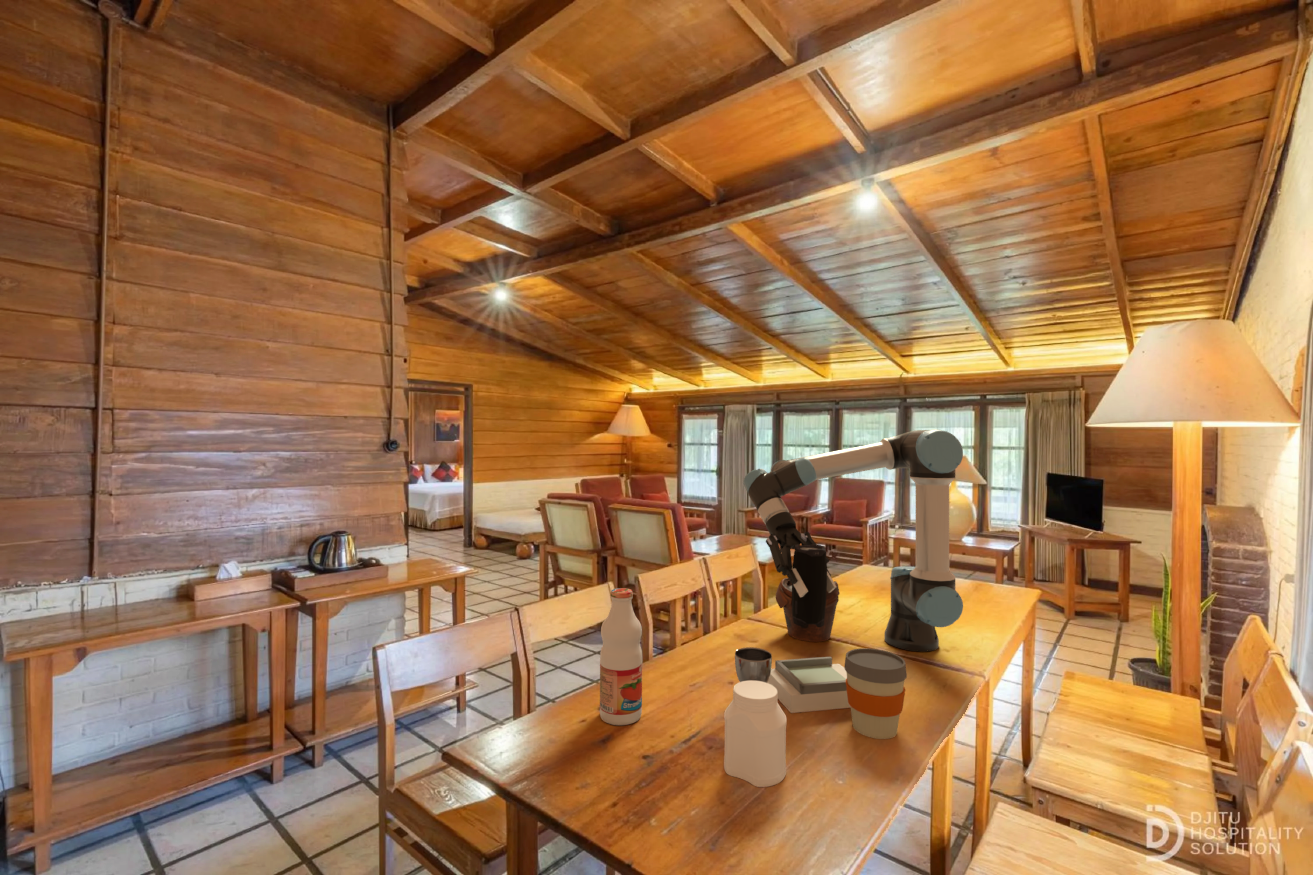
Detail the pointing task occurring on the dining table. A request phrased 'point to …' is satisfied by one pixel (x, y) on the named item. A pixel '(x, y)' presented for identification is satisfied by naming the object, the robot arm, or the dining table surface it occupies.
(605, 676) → the fruit juice
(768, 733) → the jar
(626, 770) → the dining table surface
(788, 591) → the brown tapered open container
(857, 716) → the reusable coffee cup
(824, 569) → the portable speaker
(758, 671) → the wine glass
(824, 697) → the dock
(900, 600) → the robot arm
